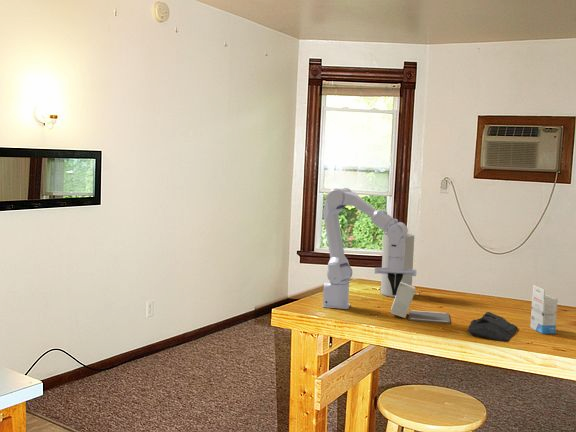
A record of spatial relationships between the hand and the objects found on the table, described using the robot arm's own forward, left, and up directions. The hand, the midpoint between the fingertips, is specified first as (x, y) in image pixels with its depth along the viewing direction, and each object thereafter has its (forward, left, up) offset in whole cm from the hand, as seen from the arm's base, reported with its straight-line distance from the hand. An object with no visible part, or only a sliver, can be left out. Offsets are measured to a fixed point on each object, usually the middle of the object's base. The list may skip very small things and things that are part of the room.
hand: (394, 294), depth 228 cm
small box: (+1, 0, -7) cm, 7 cm away
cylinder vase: (-1, +37, -8) cm, 38 cm away
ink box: (+49, -5, -8) cm, 50 cm away
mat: (+12, +1, -7) cm, 15 cm away
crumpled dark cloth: (+32, -12, -8) cm, 35 cm away
